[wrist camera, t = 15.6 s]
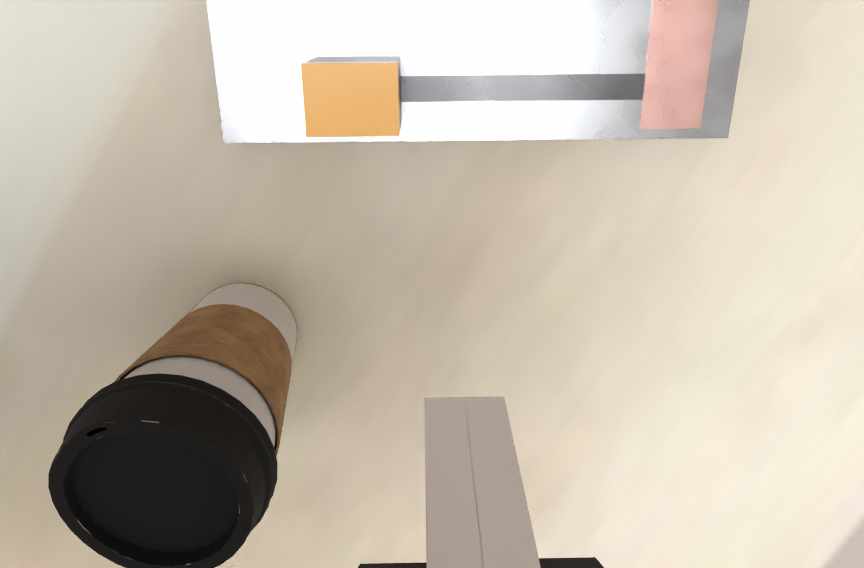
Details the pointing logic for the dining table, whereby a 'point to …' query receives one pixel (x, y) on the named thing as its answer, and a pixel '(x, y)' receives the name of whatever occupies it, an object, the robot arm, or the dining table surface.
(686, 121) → the panel
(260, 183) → the dining table surface
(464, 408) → the robot arm
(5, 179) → the dining table surface
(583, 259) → the dining table surface
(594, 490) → the dining table surface
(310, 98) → the block
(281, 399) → the coffee cup
